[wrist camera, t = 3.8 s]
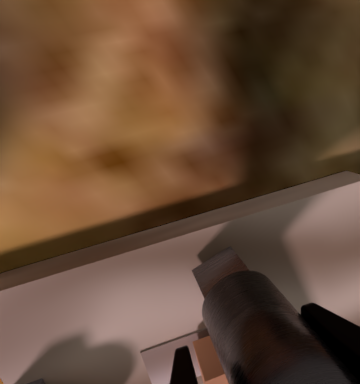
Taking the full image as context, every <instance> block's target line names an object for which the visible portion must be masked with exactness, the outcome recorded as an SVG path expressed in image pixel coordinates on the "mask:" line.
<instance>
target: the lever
mask: <svg viewBox="0 0 360 384" xmlns="http://www.w3.org/2000/svg"><path fill="white" fill-rule="evenodd" d="M192 272H193V275H194V277H195V279H196V281H197V283H198V286H199V288H200V290H201V292H202V295H203V297H204V302H203V306H202V317H203V320H204V323H205V325H206V328H207V330H208V333H209V335H210V338H211V340H212V343H213V346H214V348H215V351H216V353H217V356H218V358H219V361H220V363H221V366H222V368H223V371H224V373H225V376H226V378H227V381H228V383H229V384H360V382H359V381H358V380H357V378H356V377H355V376H354V375H353V374H352V373H351V372H350V370H349V369H348V368H347V367H346V366H345V365H344V364H343V362H342V361H341V360H340V359H339V358H338V357H337V356H336V354H335V353H334V352H333V351H332V350H331V349H330V348H329V346H328V345H327V344H326V343H325V342H324V341H323V340H322V339H321V337H320V336H319V335H318V334H317V333H316V332H315V331H314V329H313V328H312V327H311V326H310V325H309V324H308V323H307V321H306V320H305V319H304V318H303V317H302V316H301V315H300V313H299V312H298V311H297V310H296V309H295V308H294V307H293V305H292V304H291V303H290V302H289V301H288V300H287V299H286V297H285V296H284V295H283V294H282V293H281V292H280V291H279V289H278V288H277V287H276V286H275V285H274V284H273V283H272V281H271V280H270V279H269V278H268V277H267V276H265V275H264V274H262V273H260V272H257V271H250V270H249V269H248V268H247V266H246V265H245V264H244V263H243V261H242V260H241V259H240V258H239V256H238V255H237V254H236V253H235V251H234V250H233V249H232V248H231V246H229V247H228V248H226V249H225V250H223V251H221V252H220V253H218V254H217V255H215V256H213V257H212V258H210V259H209V260H207V261H205V262H204V263H202V264H201V265H199V266H198V267H196V268H194V269H193V270H192Z"/></svg>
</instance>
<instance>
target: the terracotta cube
mask: <svg viewBox="0 0 360 384" xmlns="http://www.w3.org/2000/svg"><path fill="white" fill-rule="evenodd" d="M193 346H194V350H195V353H196V357H197V361H198V365H199V368H200V372H201V376H202V380H203V383H204V384H229V383H228V381H227V378H226V376H225V373H224V371H223V368H222V366H221V363H220V361H219V358H218V356H217V353H216V351H215V348H214V346H213V343H212V340H211V338H210V336H207V337H204V338H201V339H199V340H196V341H193Z"/></svg>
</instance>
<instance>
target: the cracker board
mask: <svg viewBox="0 0 360 384" xmlns="http://www.w3.org/2000/svg"><path fill="white" fill-rule="evenodd" d="M229 246H231V248H232V249H233V250H234V251H235V253H236V254H237V255H238V256H239V258H240V259H241V260H242V261H243V263H244V264H245V265H246V266H247V268H248V269H249V270H250V271H257V272H260V273H262V274H264V275H265V276H267V277H268V278H269V279H270V280H271V281H272V283H273V284H274V285H275V286H276V287H277V288H278V289H279V291H280V292H281V293H282V294H283V295H284V296H285V297H286V299H287V300H288V301H289V302H290V303H291V304H292V305H293V307H294V308H295V309H296V310H297V311H298V312H299V313H300V315H301V306H302V305H305V304H308V303H316V304H318V305H319V306H321V307H323V308H325V309H327V310H329V311H331V312H333V313H335V314H337V315H339V316H341V317H342V318H344V319H346V320H348V321H350V322H352V323H354V324H356V325H358V326H360V174H357V173H353V172H350V171H344V172H340V173H337V174H334V175H330V176H327V177H324V178H320V179H317V180H313V181H310V182H307V183H303V184H300V185H297V186H293V187H290V188H286V189H283V190H280V191H276V192H273V193H270V194H266V195H263V196H260V197H256V198H253V199H249V200H246V201H243V202H239V203H236V204H233V205H229V206H226V207H222V208H219V209H216V210H212V211H209V212H206V213H202V214H199V215H195V216H192V217H189V218H185V219H182V220H179V221H175V222H172V223H168V224H165V225H162V226H158V227H155V228H152V229H148V230H145V231H142V232H138V233H135V234H131V235H128V236H125V237H121V238H118V239H115V240H111V241H108V242H104V243H101V244H98V245H94V246H91V247H88V248H84V249H81V250H77V251H74V252H71V253H67V254H64V255H61V256H57V257H54V258H50V259H47V260H44V261H40V262H37V263H34V264H30V265H27V266H24V267H20V268H17V269H13V270H10V271H7V272H3V273H0V379H1V380H2V382H3V383H4V384H170V378H171V372H172V365H173V359H174V353H175V350H176V348H179V347H182V346H185V345H187V346H188V347H189V351H190V355H191V358H192V362H193V366H194V370H195V373H196V377H197V381H198V384H204V383H203V380H202V376H201V372H200V368H199V365H198V361H197V357H196V353H195V350H194V346H193V341H196V340H199V339H201V338H204V337H207V336H210V335H209V333H208V330H207V328H206V325H205V323H204V320H203V317H202V306H203V302H204V297H203V295H202V292H201V290H200V288H199V286H198V283H197V281H196V279H195V277H194V275H193V272H192V270H193V269H194V268H196V267H198V266H199V265H201V264H202V263H204V262H205V261H207V260H209V259H210V258H212V257H213V256H215V255H217V254H218V253H220V252H221V251H223V250H225V249H226V248H228V247H229Z"/></svg>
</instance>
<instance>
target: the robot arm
mask: <svg viewBox="0 0 360 384" xmlns="http://www.w3.org/2000/svg"><path fill="white" fill-rule="evenodd" d="M301 316H302V317H303V318H304V319H305V320H306V321H307V323H308V324H309V325H310V326H311V327H312V328H313V329H314V331H315V332H316V333H317V334H318V335H319V336H320V337H321V339H322V340H323V341H324V342H325V343H326V344H327V345H328V346H329V348H330V349H331V350H332V351H333V352H334V353H335V354H336V356H337V357H338V358H339V359H340V360H341V361H342V362H343V364H344V365H345V366H346V367H347V368H348V369H349V370H350V372H351V373H352V374H353V375H354V376H355V377H356V378H357V380H358V381H359V382H360V326H358V325H356V324H354V323H352V322H350V321H348V320H346V319H344V318H342V317H341V316H339V315H337V314H335V313H333V312H331V311H329V310H327V309H325V308H323V307H321V306H319V305H318V304H316V303H308V304H305V305H302V306H301ZM170 384H198V381H197V377H196V373H195V370H194V366H193V362H192V358H191V355H190V351H189V347H188V346H187V345H185V346H182V347H179V348H176V350H175V353H174V359H173V365H172V372H171V378H170Z"/></svg>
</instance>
